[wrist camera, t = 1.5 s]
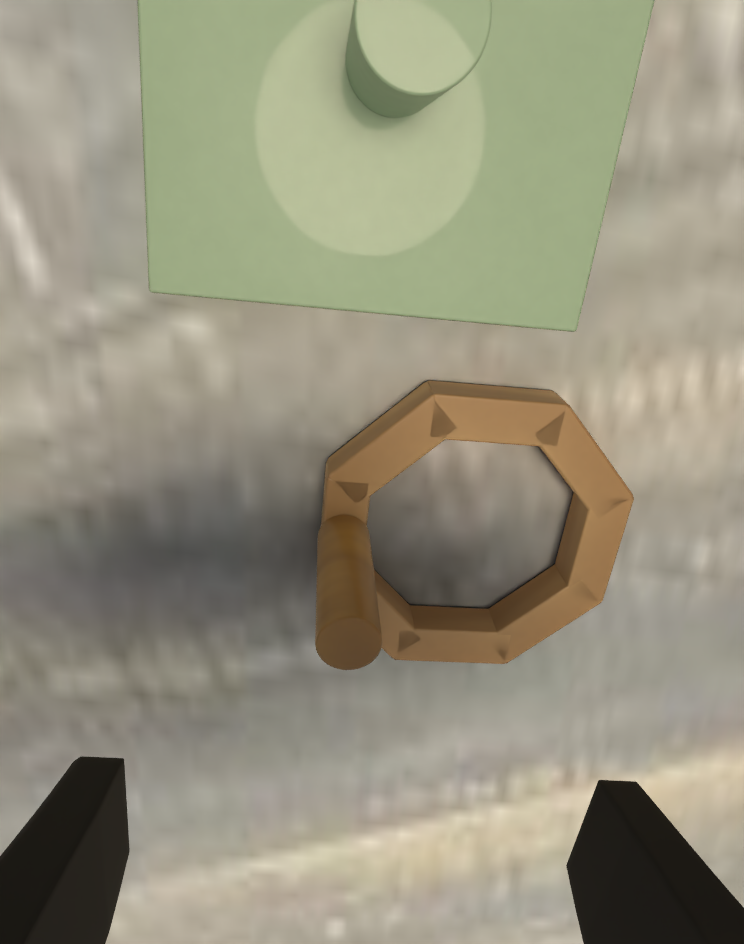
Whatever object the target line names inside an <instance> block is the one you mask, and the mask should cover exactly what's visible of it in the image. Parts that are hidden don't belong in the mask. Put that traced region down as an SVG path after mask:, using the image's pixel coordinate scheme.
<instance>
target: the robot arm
mask: <svg viewBox="0 0 744 944" xmlns="http://www.w3.org/2000/svg"><path fill="white" fill-rule="evenodd" d="M128 855H129V836H128V819H127V802H126V785H125V768H124V759H123V758H101V757H80V758H78V759H77V760H75V761H74V762H73V763H72V764H71V766H70V767H69V768H68V770H67V771H66V773H65V774H64V775H63V777H62V778H61V779H60V781H59V782H58V783H57V785H56V786H55V787H54V789H53V790H52V791H51V793H50V794H49V795H48V797H47V798H46V799H45V801H44V802H43V803H42V804H41V806H40V807H39V808H38V810H37V811H36V812H35V813H34V815H33V816H32V817H31V819H30V820H29V821H28V822H27V824H26V825H25V826H24V827H23V829H22V830H21V831H20V832H19V834H18V835H17V836H16V837H15V839H14V840H13V841H12V842H11V844H10V845H9V846H8V847H7V849H6V850H5V851H4V852H3V854H2V855H1V856H0V944H105V942H106V939H107V937H108V934H109V930H110V927H111V923H112V919H113V915H114V911H115V907H116V903H117V900H118V896H119V892H120V888H121V884H122V880H123V875H124V871H125V867H126V863H127V859H128ZM566 866H567V870H568V875H569V880H570V885H571V889H572V894H573V899H574V904H575V908H576V913H577V917H578V921H579V925H580V929H581V934H582V938H583V942H584V944H744V908H743V907H742V905H741V904H740V903H739V902H738V901H737V900H736V899H735V897H734V896H733V895H732V894H731V893H730V892H729V890H728V889H727V888H726V887H725V886H724V885H723V884H722V882H721V881H720V880H719V879H718V878H717V877H716V875H715V874H714V873H713V872H712V871H711V869H710V868H709V867H708V866H707V865H706V864H705V862H704V861H703V860H702V859H701V858H700V857H699V855H698V854H697V853H696V852H695V851H694V849H693V848H692V847H691V846H690V845H689V844H688V842H687V841H686V840H685V839H684V838H683V836H682V835H681V834H680V833H679V832H678V830H677V829H676V828H675V827H674V826H673V825H672V823H671V822H670V821H669V820H668V819H667V817H666V816H665V815H664V814H663V813H662V811H661V810H660V809H659V808H658V807H657V805H656V804H655V803H654V802H653V801H652V800H651V798H650V797H649V796H648V795H647V794H646V793H645V791H644V790H643V789H642V788H641V787H640V786H639V784H638V783H637V782H631V781H609V780H599V781H598V783H597V786H596V789H595V791H594V794H593V797H592V799H591V802H590V805H589V807H588V810H587V813H586V815H585V818H584V820H583V823H582V826H581V828H580V831H579V834H578V836H577V839H576V842H575V844H574V847H573V849H572V852H571V855H570V857H569V860H568V863H567V865H566Z"/></svg>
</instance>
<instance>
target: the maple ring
mask: <svg viewBox="0 0 744 944" xmlns="http://www.w3.org/2000/svg"><path fill="white" fill-rule="evenodd" d="M445 439H449V440H462V441H476V442H489V443H503V444H516V445H530V446H539V447H540V448H541V450H542V451H543V452H544V454H545V455H546V456H547V457H548V459H549V460H550V461H551V463H552V464H553V465H554V467H555V468H556V469H557V471H558V472H559V473H560V475H561V476H562V477H563V479H564V480H565V481H566V482H567V484H568V485H569V486H570V488H571V489H572V490H573V492H574V494H573V497H572V501H571V505H570V509H569V513H568V516H567V520H566V524H565V528H564V532H563V535H562V539H561V543H560V547H559V551H558V554H557V558H556V562H555V565H553V566H552V567H550V568H549V569H547V570H546V571H544V572H543V573H541V574H540V575H538V576H537V577H535V578H534V579H532V580H531V581H529V582H528V583H526V584H525V585H523V586H522V587H520V588H519V589H517V590H516V591H514V592H513V593H511V594H510V595H508V596H507V597H505V598H504V599H502V600H501V601H499V602H498V603H496V604H495V605H493V606H492V607H490V608H489V609H479V608H458V607H436V606H414V605H409V604H408V603H407V602H406V601H405V600H404V599H403V598H402V597H401V596H400V595H399V594H398V593H397V592H396V591H395V590H394V589H393V588H392V587H391V586H390V585H389V584H388V583H387V582H386V581H385V580H384V579H383V578H382V577H381V576H380V575H379V574H378V573H377V572H376V571H375V570H374V568H373V559H372V551H371V543H370V535H369V530H368V528H367V519H368V510H369V501H370V496H371V495H372V494H373V493H375V492H376V491H377V490H379V489H380V488H381V487H383V486H384V485H385V484H387V483H388V482H389V481H391V480H392V479H393V478H394V477H396V476H397V475H398V474H400V473H401V472H402V471H404V470H405V469H406V468H408V467H409V466H410V465H412V464H413V463H414V462H416V461H417V460H418V459H420V458H421V457H422V456H424V455H425V454H426V453H428V452H429V451H430V450H432V449H433V448H434V447H436V446H437V445H438V444H440V443H441V442H442V441H444V440H445ZM633 500H634V497H633V494H632V493H631V491H630V490H629V488H628V487H627V486H626V484H625V483H624V481H623V480H622V479H621V477H620V476H619V474H618V473H617V472H616V470H615V469H614V467H613V466H612V465H611V463H610V462H609V460H608V459H607V458H606V456H605V455H604V453H603V452H602V450H601V449H600V448H599V446H598V445H597V443H596V442H595V441H594V439H593V438H592V436H591V435H590V434H589V432H588V431H587V429H586V428H585V427H584V425H583V424H582V422H581V421H580V420H579V418H578V417H577V415H576V414H575V413H574V411H573V410H572V408H571V407H570V406H569V405H568V404H567V403H566V402H565V401H564V400H563V399H562V398H561V397H560V396H559V395H558V394H557V393H555V392H554V391H550V390H538V389H526V388H514V387H502V386H490V385H477V384H465V383H453V382H441V381H427V382H424V383H423V384H422V385H421V386H419V387H418V388H417V389H416V390H414V391H413V392H412V393H410V394H409V395H408V396H407V397H405V398H404V399H403V400H402V401H400V402H399V403H398V404H396V405H395V406H394V407H393V408H391V409H390V410H389V411H388V412H386V413H385V414H384V415H382V416H381V417H380V418H379V419H377V420H376V421H375V422H374V423H372V424H371V425H370V426H368V427H367V428H366V429H365V430H363V431H362V432H361V433H360V434H358V435H357V436H356V437H354V438H353V439H352V440H351V441H349V442H348V443H347V444H346V445H344V446H343V447H342V448H340V449H339V450H338V451H337V452H335V453H334V454H333V455H332V456H330V457H329V458H328V460H327V462H326V469H325V482H324V494H323V506H322V519H321V528H320V530H319V532H318V548H317V592H316V636H315V646H316V650H317V653H318V655H319V656H320V658H321V659H322V660H323V661H324V662H325V663H326V664H328V665H330V666H332V667H334V668H337V669H342V670H353V669H358V668H361V667H364V666H366V665H368V664H369V663H371V662H372V661H373V660H374V659H375V658H376V657H377V656H378V654H379V652H380V650H381V648H382V649H383V650H384V651H385V652H386V653H388V654H389V655H390V656H391V657H392V658H394V659H395V660H415V661H442V662H469V663H496V664H505V663H508V662H509V661H511V660H512V659H514V658H516V657H517V656H519V655H520V654H522V653H523V652H525V651H526V650H528V649H530V648H531V647H533V646H534V645H536V644H537V643H539V642H541V641H542V640H544V639H545V638H547V637H548V636H550V635H551V634H553V633H555V632H556V631H558V630H559V629H561V628H562V627H564V626H565V625H567V624H569V623H570V622H572V621H573V620H575V619H576V618H578V617H579V616H581V615H583V614H584V613H586V612H587V611H589V610H590V609H592V608H594V607H595V606H597V605H598V604H600V603H601V601H602V600H603V597H604V594H605V591H606V588H607V584H608V581H609V578H610V575H611V571H612V568H613V565H614V562H615V558H616V555H617V552H618V549H619V545H620V542H621V539H622V536H623V532H624V529H625V526H626V523H627V519H628V516H629V513H630V510H631V506H632V503H633Z"/></svg>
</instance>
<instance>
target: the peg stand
mask: <svg viewBox="0 0 744 944" xmlns="http://www.w3.org/2000/svg"><path fill="white" fill-rule="evenodd" d="M653 5H654V0H138V25H139V50H140V76H141V101H142V126H143V151H144V176H145V202H146V227H147V252H148V277H149V290H150V292H152V293H162V294H173V295H184V296H195V297H205V298H216V299H227V300H237V301H248V302H259V303H270V304H280V305H291V306H302V307H313V308H323V309H334V310H345V311H356V312H366V313H377V314H388V315H398V316H409V317H420V318H431V319H441V320H452V321H463V322H474V323H484V324H495V325H506V326H516V327H527V328H538V329H549V330H559V331H570V332H574V331H576V330H577V326H578V321H579V317H580V313H581V309H582V304H583V300H584V296H585V292H586V288H587V283H588V279H589V275H590V271H591V266H592V262H593V258H594V254H595V250H596V245H597V241H598V237H599V233H600V228H601V224H602V220H603V216H604V212H605V207H606V203H607V199H608V195H609V190H610V186H611V182H612V178H613V174H614V169H615V165H616V161H617V157H618V152H619V148H620V144H621V140H622V136H623V131H624V127H625V123H626V119H627V114H628V110H629V106H630V102H631V98H632V93H633V89H634V85H635V81H636V76H637V72H638V68H639V64H640V60H641V55H642V51H643V47H644V43H645V38H646V34H647V30H648V26H649V22H650V17H651V13H652V9H653Z"/></svg>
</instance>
